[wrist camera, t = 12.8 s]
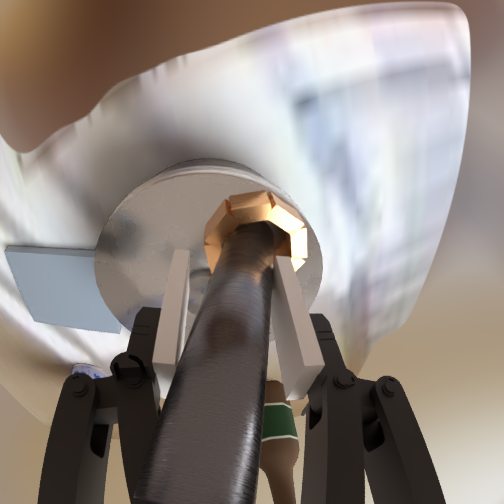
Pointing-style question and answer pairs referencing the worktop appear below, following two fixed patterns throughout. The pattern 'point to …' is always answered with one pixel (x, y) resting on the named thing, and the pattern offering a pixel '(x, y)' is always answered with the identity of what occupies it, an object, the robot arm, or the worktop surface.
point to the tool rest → (61, 287)
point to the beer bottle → (279, 444)
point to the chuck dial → (194, 236)
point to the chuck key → (218, 386)
